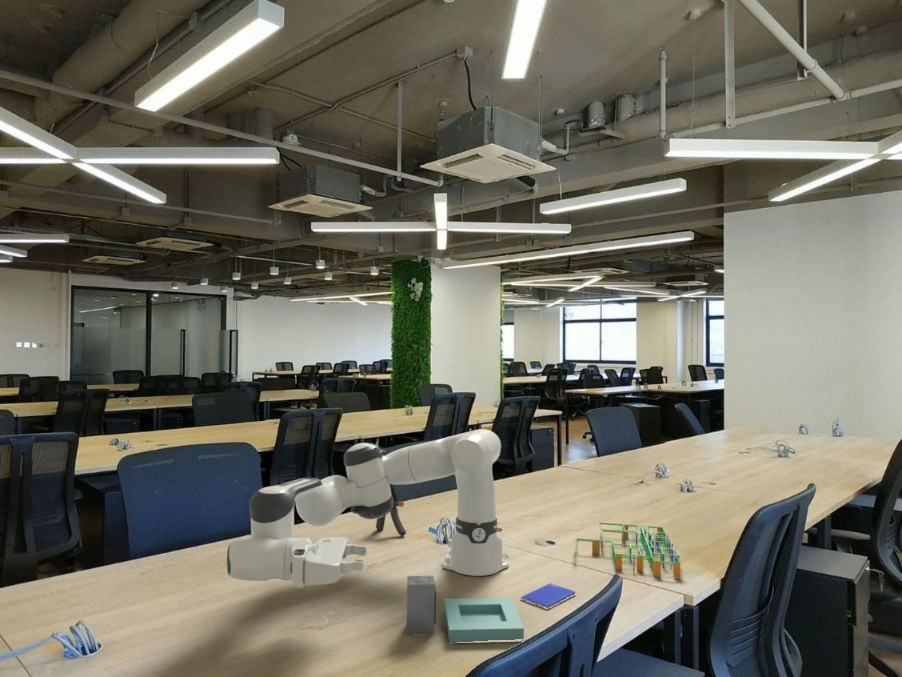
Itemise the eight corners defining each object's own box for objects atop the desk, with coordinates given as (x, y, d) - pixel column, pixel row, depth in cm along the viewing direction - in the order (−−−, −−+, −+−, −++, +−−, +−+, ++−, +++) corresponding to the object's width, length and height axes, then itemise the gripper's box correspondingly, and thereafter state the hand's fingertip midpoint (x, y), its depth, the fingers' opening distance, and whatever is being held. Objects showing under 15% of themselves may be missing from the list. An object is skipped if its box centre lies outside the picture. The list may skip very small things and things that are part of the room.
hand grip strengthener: (402, 538, 201) (403, 492, 202) (375, 530, 209) (375, 487, 209) (407, 536, 203) (407, 491, 204) (379, 529, 211) (380, 485, 211)
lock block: (406, 624, 138) (407, 576, 138) (434, 624, 139) (435, 575, 139) (406, 635, 133) (407, 584, 133) (435, 634, 134) (436, 584, 134)
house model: (683, 580, 169) (683, 563, 169) (574, 571, 175) (574, 554, 175) (665, 541, 203) (665, 527, 203) (574, 535, 209) (575, 520, 209)
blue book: (549, 582, 162) (520, 596, 153) (575, 591, 156) (547, 605, 147) (549, 588, 162) (520, 602, 153) (575, 597, 156) (547, 612, 147)
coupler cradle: (444, 611, 145) (444, 599, 145) (510, 610, 147) (510, 597, 147) (449, 644, 129) (449, 629, 130) (523, 642, 131) (523, 628, 131)
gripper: (309, 557, 144) (368, 556, 145) (292, 590, 124) (361, 589, 125) (309, 530, 144) (368, 529, 145) (293, 559, 124) (361, 558, 125)
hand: (365, 557), depth 135 cm, fingers open, 8 cm apart
